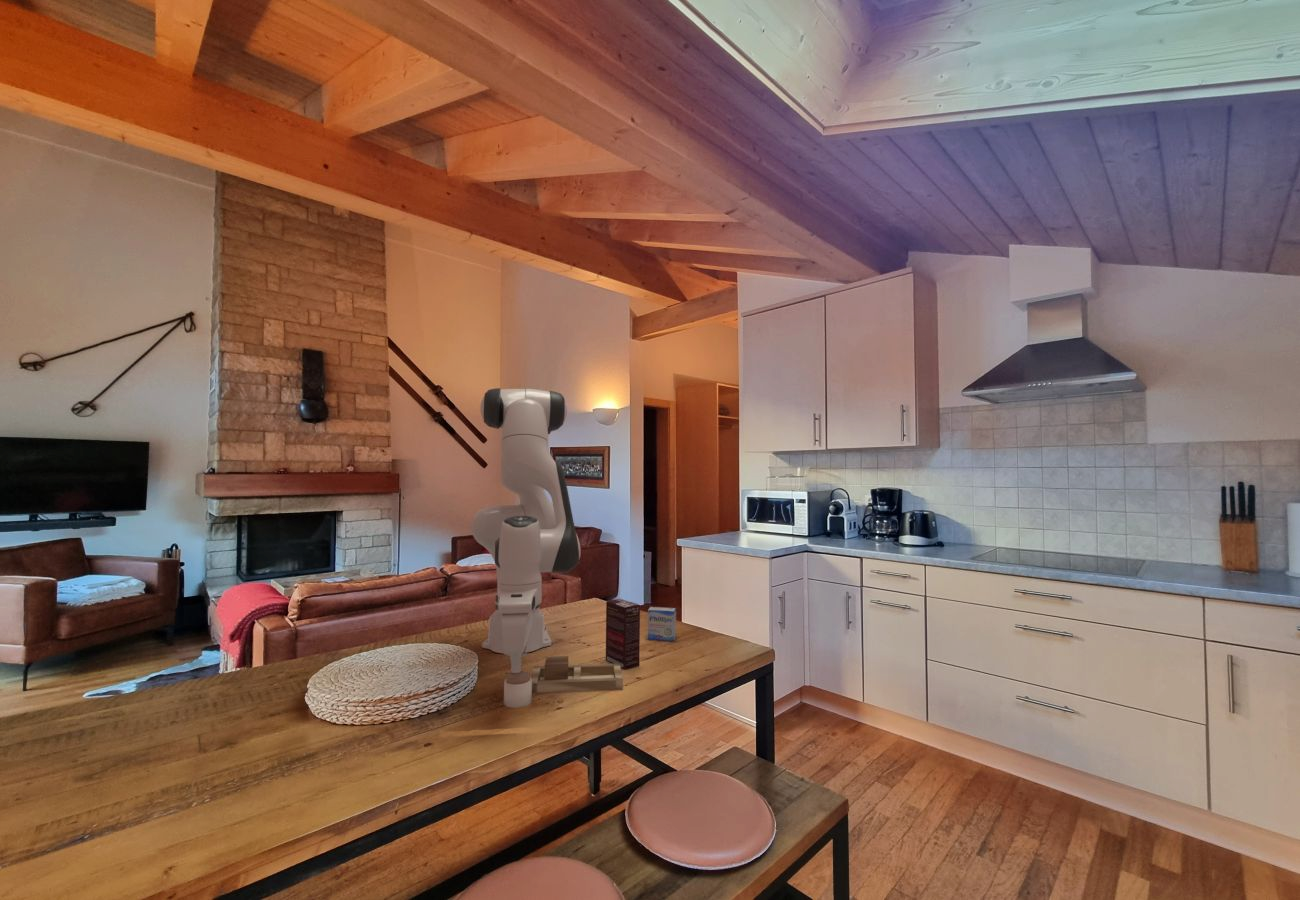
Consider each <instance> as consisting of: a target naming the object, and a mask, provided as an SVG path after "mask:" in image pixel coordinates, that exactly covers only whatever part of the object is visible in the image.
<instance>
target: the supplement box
mask: <svg viewBox="0 0 1300 900" xmlns="http://www.w3.org/2000/svg"><path fill="white" fill-rule="evenodd" d="M605 604H606V605H605V606H606V607H605V608H606V609H605V610H606V611H605V615H606V616H605V661H606V662H607V663H609V664H616V663H620V667H621V670H624V671H626V670H630V669H633V668H638V667H640V644H641V643H640V639H641V638H640V633H641V632H640V631H641V629H640V627H641V605H640V604H638V603H635V602H632V601H629V600H626V599H622V598H615V599H609V600H606V603H605Z"/></svg>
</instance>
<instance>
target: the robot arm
mask: <svg viewBox="0 0 1300 900" xmlns="http://www.w3.org/2000/svg"><path fill="white" fill-rule="evenodd" d="M479 411H480V414H481V417H482V420H483V423H484V424H485V425H486V426H488V427H489V428H492V429H497V430H499V429H501V430H502V431H501V446H500V448H501V449H500V452H501V455H500V458H501V459H500V481H501V484H502V486H504V488H505V489H507V490H509V491H510V492H512V493H514V494H517V495H518V498H519V504H508V505H507V504H504V505H503V504H502V505H492V506H488V507H483V508H480V509H478V510H477V511H476V512H475V514H474V516H473V517H472V520H471V524H470V530H471V534H472V537H473V538H474V540H475V541H476V542H477V543H478V544H479V545H481V546H483V548H485V549H486V550H487V552H489V554H490V555H491V557H492V559H493V561H494V564H495V569H496V577H497V578H496V583H497V584H496V585H497V594H496V595H495V601H494V605H495V611H494V612H493V613H491V615H490V616H489V621H488V634H487V635H488V637H487V639H485V640H484V641H483V642H482V643H481V648H483V649H488V650H490V651H491V652H495V653H499V654H502V655H503V654H504V655H505V656H509V659H510V660H509V661H510V665H511V666H510V667H511V669H510V670H511V671H510V672H511V673H519V672H520V671H521V670H522V658H524V657H526V656H527V653H530V652H534V651H537V650H539V649H541V648H545V647H550V646H552V639H551V637H550V635H549V633H548V630H547V627H546V625H545V615H544V614H543V612H542V610H540V605H541V604H542V601H543V599H542V594H543V591H542V583H543V582H542V581H543V579H542V574H541V573H552V574H553V573H558V574H568V573H569V572H571V571H573V569H574V568H575V567H577V565H578V564H579V563H580V558H581V544H580V539H579V537H578V534H577V532H576V527H575V523H574V516H573V511H572V506H571V501H570V497H569V496H570V495H569V490H568V484H567V481H566V478H565V477H566V475H565V472H564V469H563V467H562V464H561V463H560V462H559V461H556V460H554V458H553V456H552V454H551V453H550V448H549V435H550V434H551V433H552V432H554V431H557V430H559V429H560V428H561V427H562V426H564V424H565V423H564V422H565V421H566V420H567V419H566V418H567V414H568V407H567V403H566V399H565V397H564V396H563V395H562V393H560V392H557V391H554V390H550V391H547V390H544V389H543V390H542V389H536V388H502V389H501V388H499V387H497V388H492V389H491V388H490V389H488V390H487V391H486V392H485V393H484V396H483V397H482V399H481V402H480V409H479ZM546 492H547V493H548V494H549V495H550V497H551V500H550V499H549V497H548V496H547V493H546Z"/></svg>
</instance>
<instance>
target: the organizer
mask: <svg viewBox="0 0 1300 900" xmlns="http://www.w3.org/2000/svg"><path fill="white" fill-rule="evenodd" d="M532 670H533V671H532V673H531V677H532V694H540V693H541V694H544V693H545V694H548V693H565V692H566V693H569V692H570V693H571V692H573V693H574V692H591V691H593V692H594V691H597V692H598V691H617V690H618V691H619V690H623V689H624V688H623V687H624V686H623V685H624V679H623V678H624V677H623V674H622V668H621V667H620V663H616V664H612V663H593V664H568V679H565V680H544V678H545V665H537V666H536V665H535V666H533V669H532Z"/></svg>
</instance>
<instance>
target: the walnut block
mask: <svg viewBox="0 0 1300 900" xmlns="http://www.w3.org/2000/svg"><path fill="white" fill-rule="evenodd" d="M568 665H569V655H562V656H561V655H560V656H559V655H557V656H556V655H555V656H553V655H552V656H546V657H545V662H544V666H545V678H544V680H565V679H568Z"/></svg>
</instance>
